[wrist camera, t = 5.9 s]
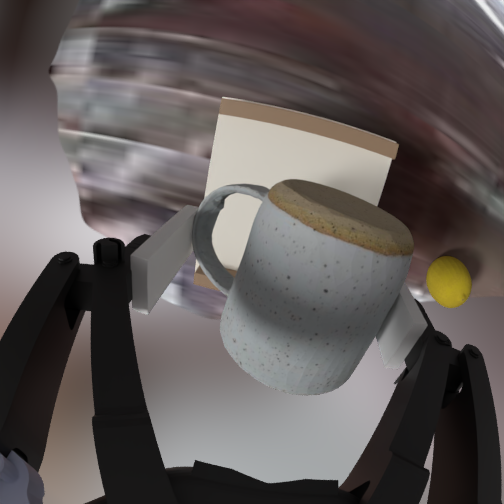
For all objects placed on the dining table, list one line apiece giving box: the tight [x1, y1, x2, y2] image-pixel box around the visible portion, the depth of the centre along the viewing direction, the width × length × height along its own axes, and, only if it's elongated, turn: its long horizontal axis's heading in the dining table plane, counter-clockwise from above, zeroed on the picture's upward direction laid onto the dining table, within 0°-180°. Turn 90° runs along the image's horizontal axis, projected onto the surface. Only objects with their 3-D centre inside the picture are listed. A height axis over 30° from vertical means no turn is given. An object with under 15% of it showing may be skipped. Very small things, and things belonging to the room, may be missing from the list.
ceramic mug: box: [192, 179, 414, 395], centre depth 13 cm, size 11×8×8 cm
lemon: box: [426, 256, 472, 308], centre depth 28 cm, size 6×6×8 cm
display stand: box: [194, 97, 399, 291], centre depth 26 cm, size 14×16×10 cm
